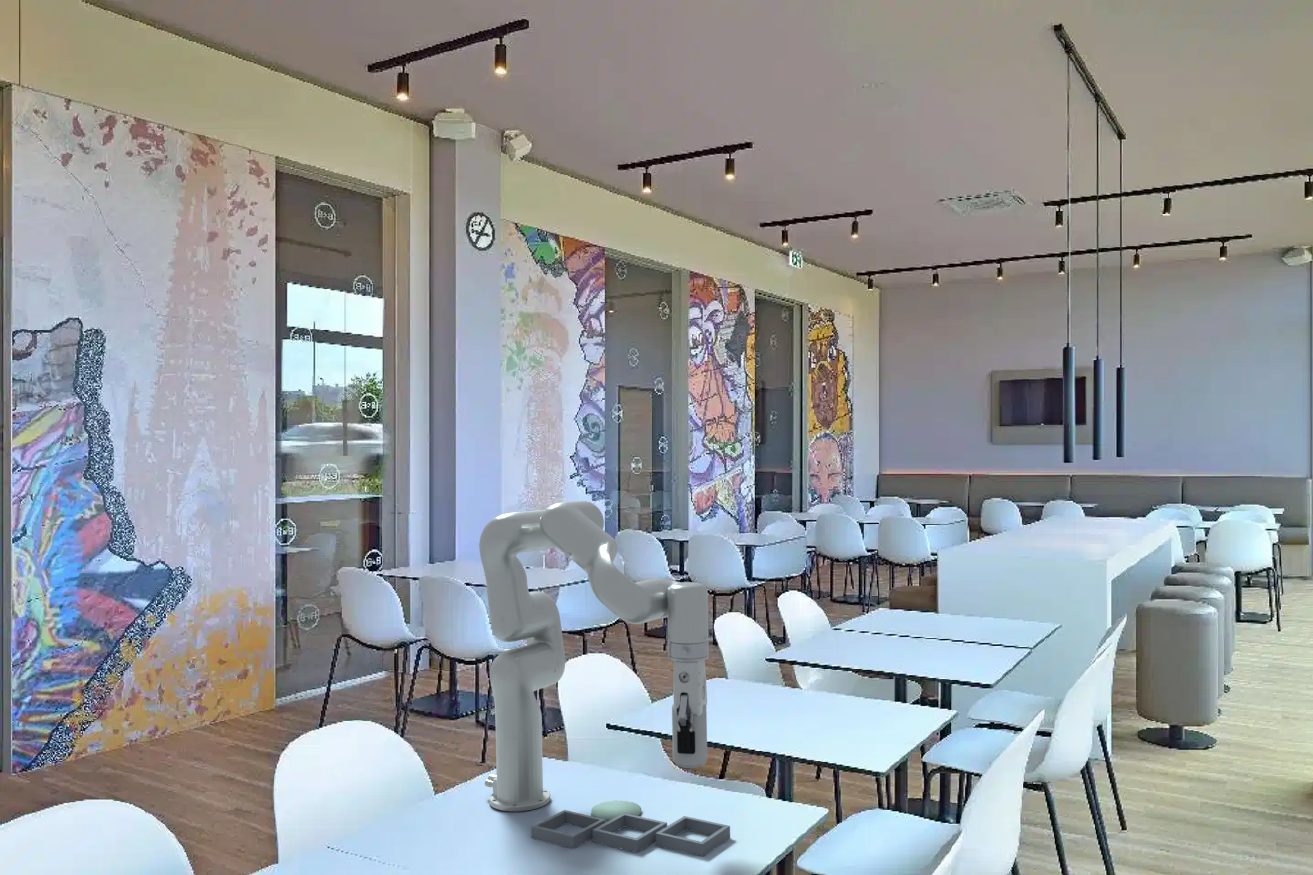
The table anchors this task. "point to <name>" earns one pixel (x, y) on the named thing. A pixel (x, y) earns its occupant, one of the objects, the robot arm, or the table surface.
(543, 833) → the tray
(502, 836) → the table surface
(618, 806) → the coaster
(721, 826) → the tray
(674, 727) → the beverage can
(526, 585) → the robot arm
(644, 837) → the tray
